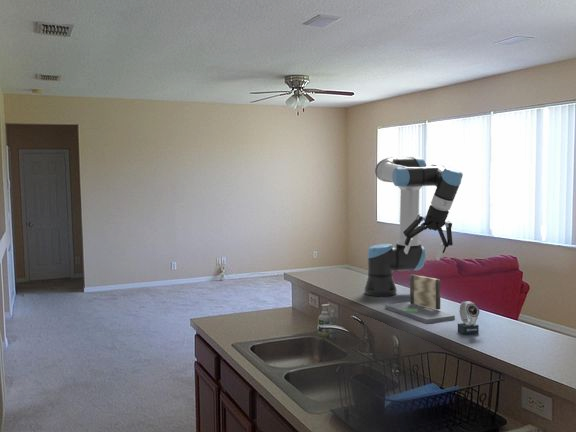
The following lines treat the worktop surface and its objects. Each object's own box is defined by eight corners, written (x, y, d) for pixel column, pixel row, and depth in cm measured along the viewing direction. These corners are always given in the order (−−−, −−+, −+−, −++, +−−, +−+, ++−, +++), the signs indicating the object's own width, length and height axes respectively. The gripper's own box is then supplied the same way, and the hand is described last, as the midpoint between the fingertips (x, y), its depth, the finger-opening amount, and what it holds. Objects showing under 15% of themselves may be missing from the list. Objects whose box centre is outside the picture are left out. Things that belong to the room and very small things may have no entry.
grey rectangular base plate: (385, 308, 229) (385, 304, 229) (411, 304, 234) (411, 301, 234) (426, 323, 203) (426, 319, 203) (454, 319, 209) (454, 315, 208)
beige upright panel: (408, 303, 229) (408, 274, 228) (413, 302, 230) (413, 274, 230) (436, 309, 216) (436, 280, 215) (441, 308, 218) (441, 279, 217)
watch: (467, 336, 185) (467, 304, 185) (454, 330, 193) (454, 300, 192) (482, 335, 187) (482, 303, 186) (469, 329, 194) (469, 299, 194)
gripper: (412, 204, 203) (394, 254, 211) (473, 217, 208) (453, 266, 215) (407, 197, 210) (389, 245, 218) (465, 210, 214) (446, 257, 222)
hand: (421, 256), depth 216 cm, fingers open, 13 cm apart
